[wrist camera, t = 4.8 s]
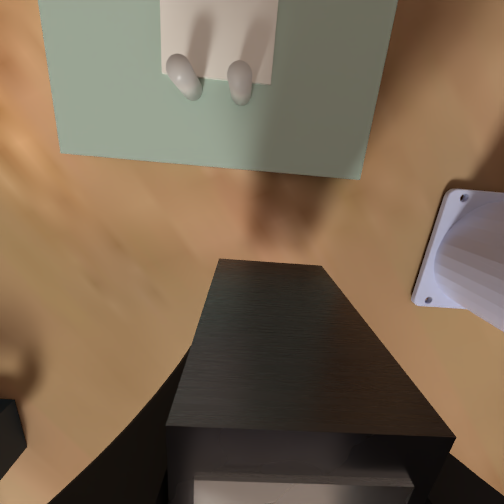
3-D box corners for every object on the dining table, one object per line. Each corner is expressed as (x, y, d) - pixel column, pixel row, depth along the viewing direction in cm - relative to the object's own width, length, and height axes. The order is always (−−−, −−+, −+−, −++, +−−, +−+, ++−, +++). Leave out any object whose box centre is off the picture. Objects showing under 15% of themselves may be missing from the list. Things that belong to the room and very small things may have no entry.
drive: (321, 265, 10) (462, 444, 3) (296, 400, 12) (352, 662, 5) (219, 258, 9) (162, 433, 3) (213, 396, 12) (173, 663, 5)
